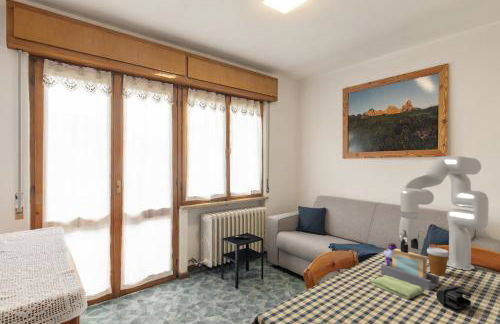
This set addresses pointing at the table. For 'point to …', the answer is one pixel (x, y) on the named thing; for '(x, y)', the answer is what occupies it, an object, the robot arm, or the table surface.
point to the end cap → (454, 298)
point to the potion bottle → (389, 253)
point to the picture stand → (411, 277)
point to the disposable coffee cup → (437, 260)
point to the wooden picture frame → (410, 263)
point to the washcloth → (397, 287)
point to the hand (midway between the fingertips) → (409, 250)
